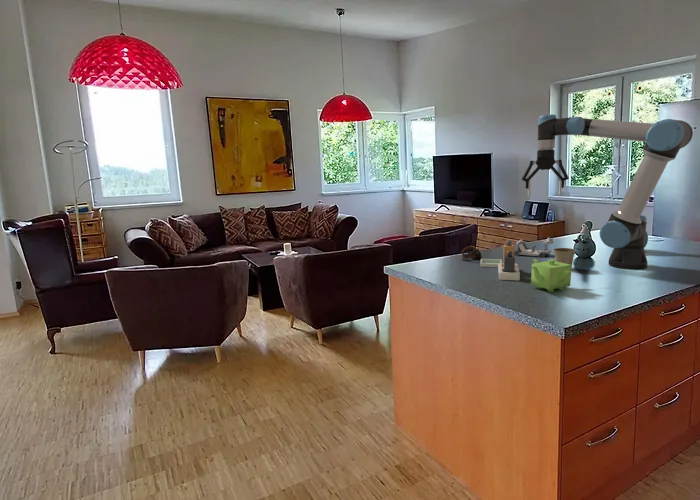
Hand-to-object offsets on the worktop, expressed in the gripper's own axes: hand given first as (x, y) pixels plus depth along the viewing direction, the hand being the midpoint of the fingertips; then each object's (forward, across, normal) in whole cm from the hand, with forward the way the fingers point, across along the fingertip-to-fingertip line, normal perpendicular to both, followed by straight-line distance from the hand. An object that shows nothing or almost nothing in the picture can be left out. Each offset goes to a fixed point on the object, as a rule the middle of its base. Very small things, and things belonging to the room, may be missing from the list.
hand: (544, 195), depth 224 cm
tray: (+31, +24, +14) cm, 42 cm away
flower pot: (+32, -7, +17) cm, 36 cm away
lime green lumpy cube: (+32, +4, +51) cm, 60 cm away
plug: (+31, +17, +27) cm, 45 cm away
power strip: (+31, +18, +31) cm, 48 cm away
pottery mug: (+31, +33, +2) cm, 45 cm away
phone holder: (+32, +2, -13) cm, 35 cm away
